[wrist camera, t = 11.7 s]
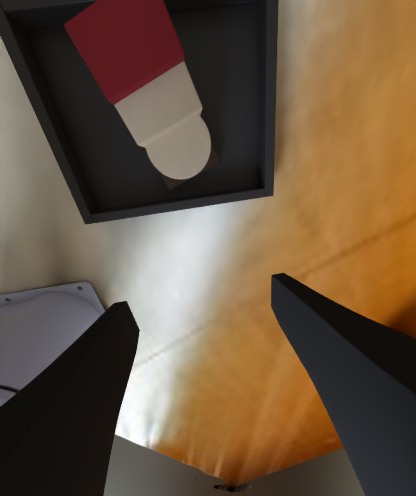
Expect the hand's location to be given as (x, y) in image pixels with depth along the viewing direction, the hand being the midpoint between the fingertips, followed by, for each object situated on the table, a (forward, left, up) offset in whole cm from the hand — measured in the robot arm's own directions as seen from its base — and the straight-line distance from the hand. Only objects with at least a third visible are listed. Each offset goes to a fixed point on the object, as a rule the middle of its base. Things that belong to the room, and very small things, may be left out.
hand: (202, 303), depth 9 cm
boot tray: (-1, +9, -9) cm, 13 cm away
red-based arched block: (-1, +9, -9) cm, 13 cm away
